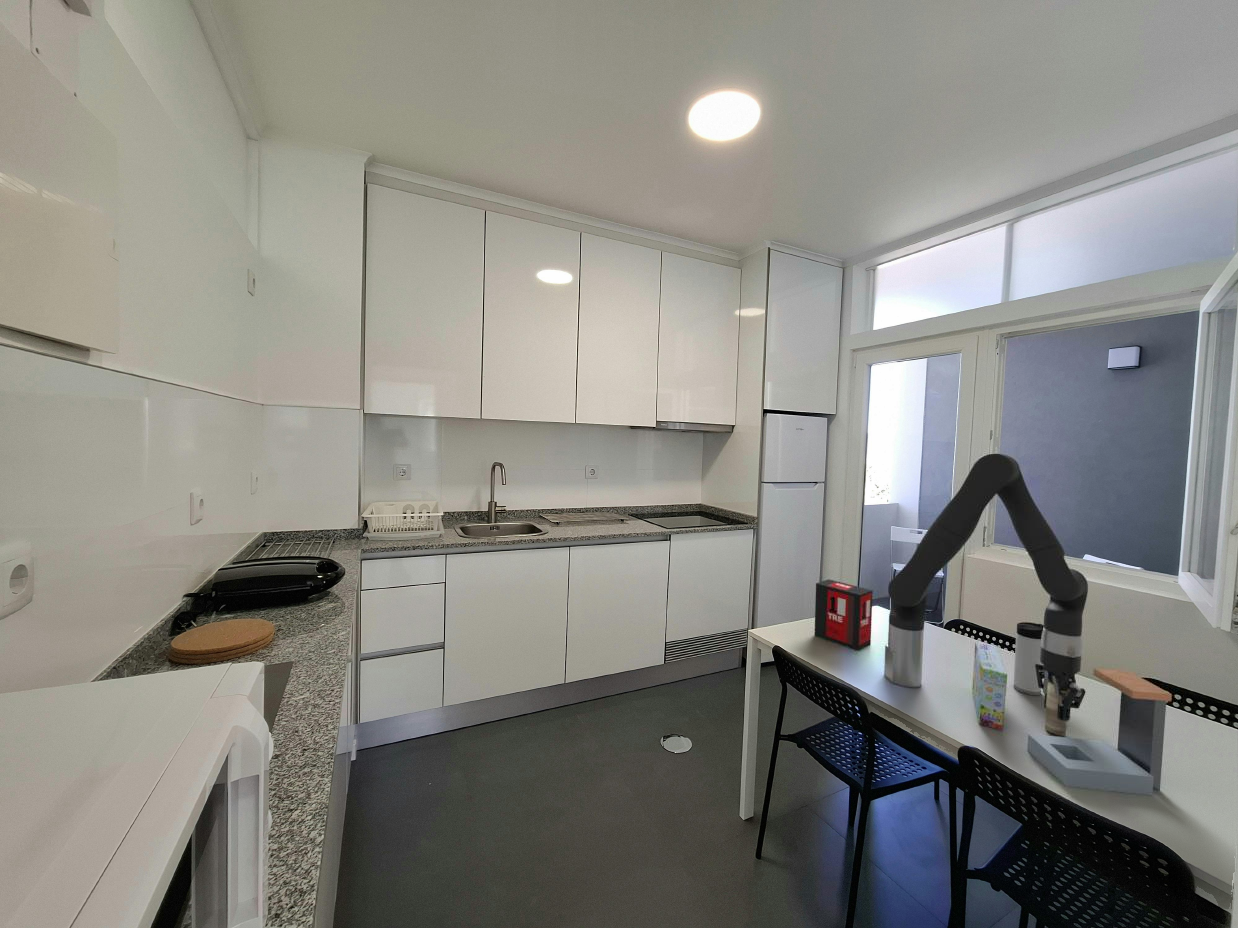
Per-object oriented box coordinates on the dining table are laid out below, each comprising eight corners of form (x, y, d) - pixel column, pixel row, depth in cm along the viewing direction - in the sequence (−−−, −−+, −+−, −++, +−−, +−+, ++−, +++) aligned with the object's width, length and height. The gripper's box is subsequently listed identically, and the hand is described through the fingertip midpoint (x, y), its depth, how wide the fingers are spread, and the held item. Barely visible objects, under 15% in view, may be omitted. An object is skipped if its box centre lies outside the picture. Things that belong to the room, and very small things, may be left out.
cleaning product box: (870, 644, 173) (872, 590, 172) (858, 651, 167) (860, 595, 166) (827, 629, 186) (828, 579, 185) (814, 635, 180) (816, 583, 179)
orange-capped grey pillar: (1126, 789, 102) (1132, 691, 101) (1088, 758, 112) (1093, 668, 110) (1164, 793, 101) (1171, 694, 99) (1122, 761, 110) (1128, 671, 109)
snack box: (1005, 732, 122) (1008, 674, 121) (978, 724, 125) (980, 668, 124) (994, 694, 140) (997, 644, 139) (970, 689, 143) (973, 639, 142)
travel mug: (1047, 696, 138) (1051, 629, 137) (1021, 694, 140) (1025, 627, 139) (1033, 685, 144) (1037, 621, 143) (1008, 683, 146) (1012, 619, 145)
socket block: (1065, 785, 103) (1066, 767, 102) (1027, 749, 114) (1028, 733, 114) (1152, 795, 100) (1153, 776, 100) (1104, 757, 112) (1105, 740, 112)
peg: (1052, 734, 120) (1055, 687, 119) (1040, 724, 124) (1043, 679, 123) (1070, 736, 119) (1073, 689, 119) (1058, 726, 123) (1061, 681, 122)
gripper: (1024, 635, 128) (1021, 698, 129) (1065, 660, 114) (1060, 729, 115) (1056, 637, 127) (1052, 700, 128) (1101, 662, 113) (1096, 733, 114)
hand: (1056, 714), depth 121 cm, fingers closed on peg, 4 cm apart
